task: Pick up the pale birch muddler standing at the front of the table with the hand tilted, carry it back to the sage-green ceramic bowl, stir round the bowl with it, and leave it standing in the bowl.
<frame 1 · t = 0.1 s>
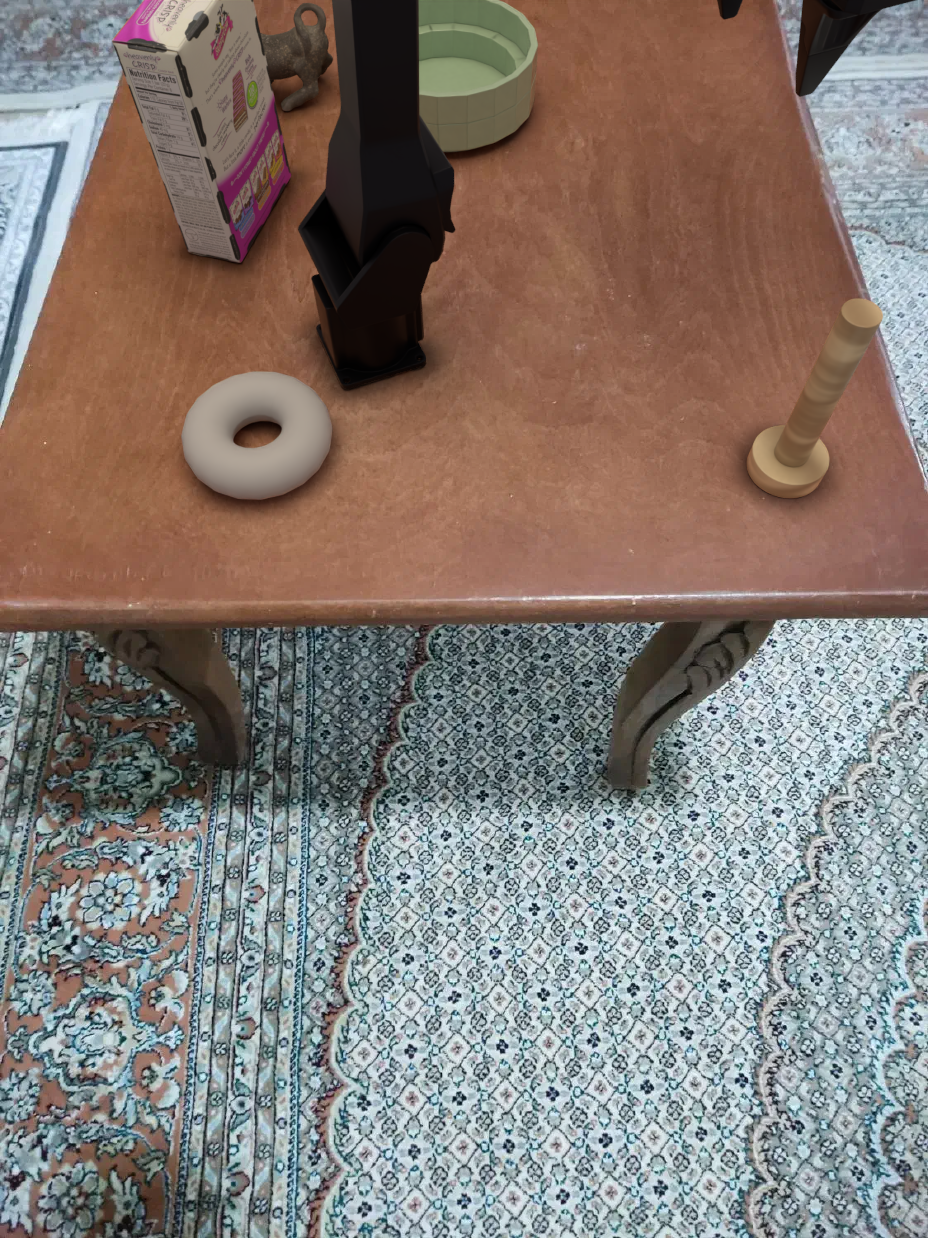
hand: (764, 54, 57), 15 cm above the table, tool pointing down, fingers open, 9 cm apart
muddler: (783, 468, 59), on the table
candy bar box: (240, 217, 72), on the table
dog figurine: (270, 94, 80), on the table
bowl: (447, 105, 78), on the table
donut: (263, 451, 61), on the table
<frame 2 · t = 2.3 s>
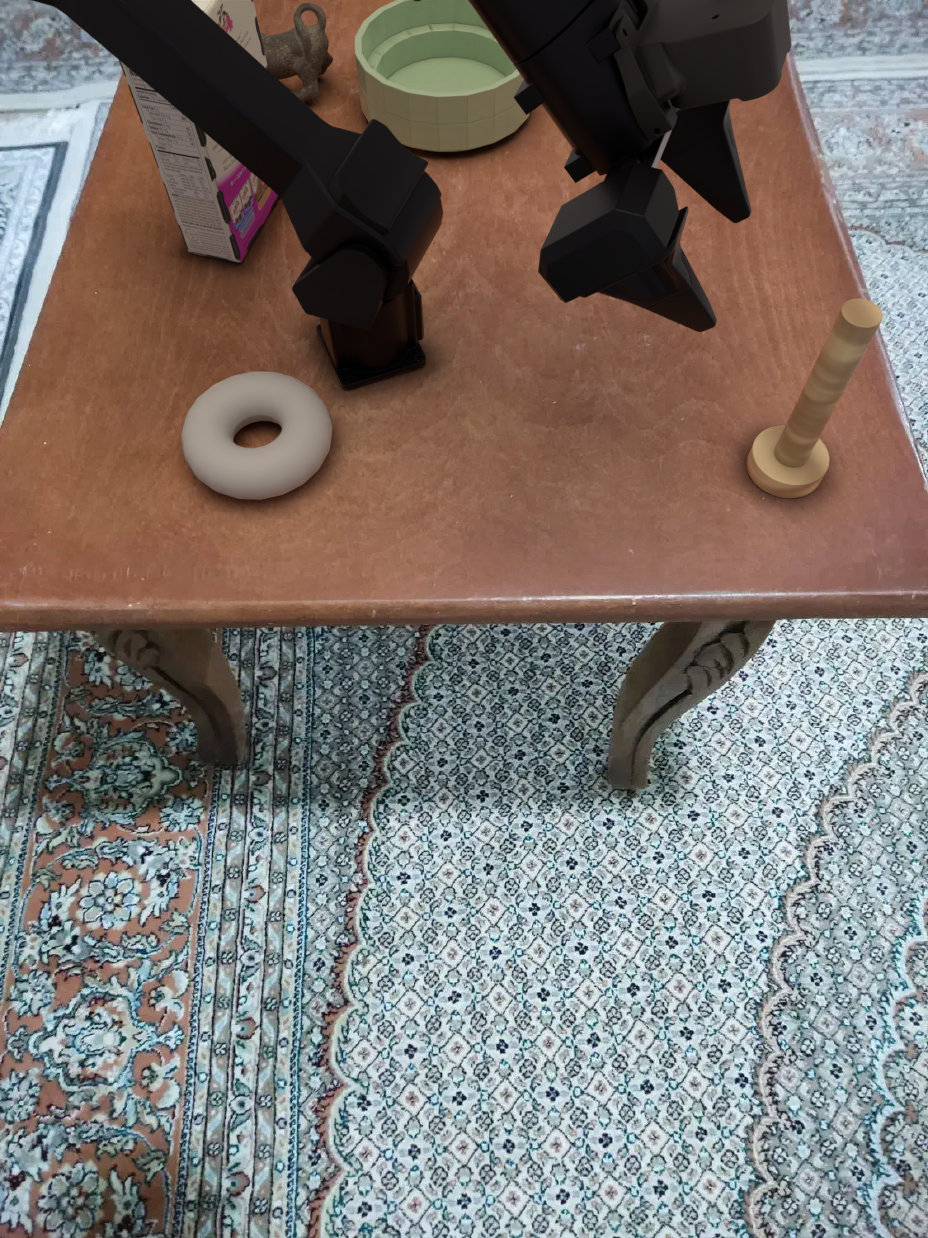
hand: (726, 270, 49), 13 cm above the table, tool tilted 45°, fingers open, 9 cm apart
nothing on the table moved.
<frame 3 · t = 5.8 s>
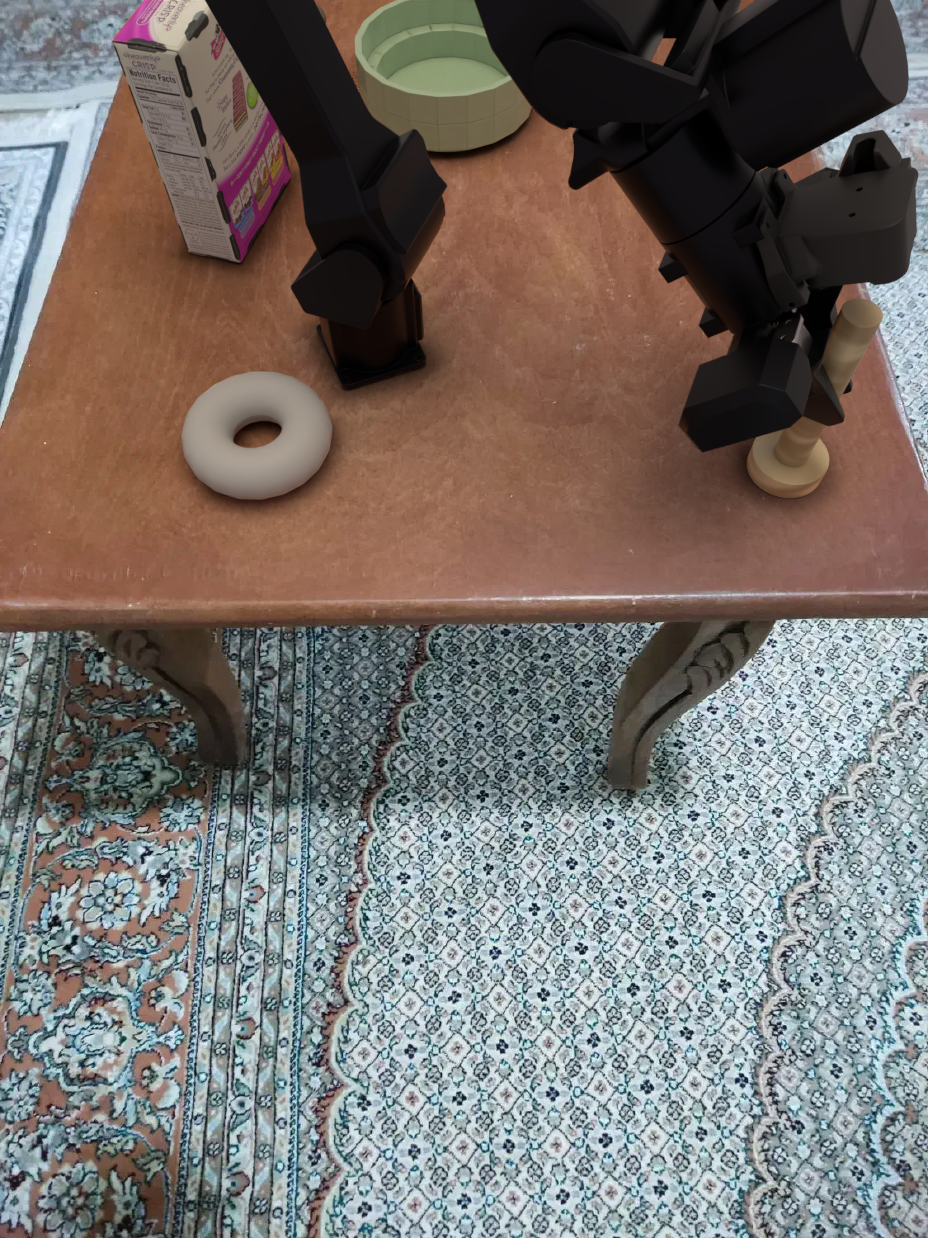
hand: (840, 407, 53), 7 cm above the table, tool tilted 45°, fingers closed on muddler, 2 cm apart
muddler: (783, 468, 59), on the table, touching gripper
everything else where it was.
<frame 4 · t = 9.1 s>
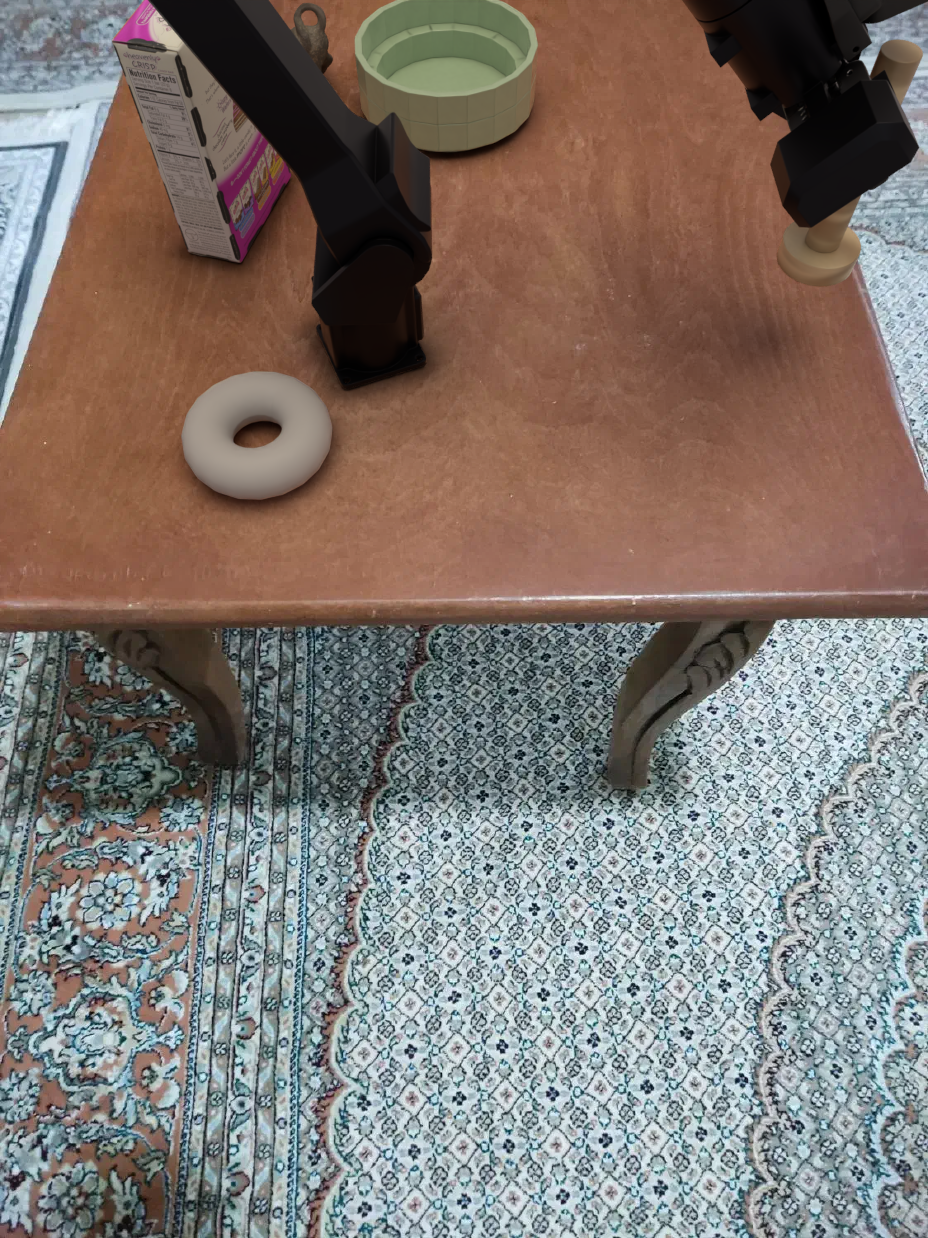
hand: (874, 169, 53), 13 cm above the table, tool tilted 45°, fingers closed on muddler, 2 cm apart
muddler: (814, 260, 59), point 7 cm above the table, touching gripper
everything else where it was.
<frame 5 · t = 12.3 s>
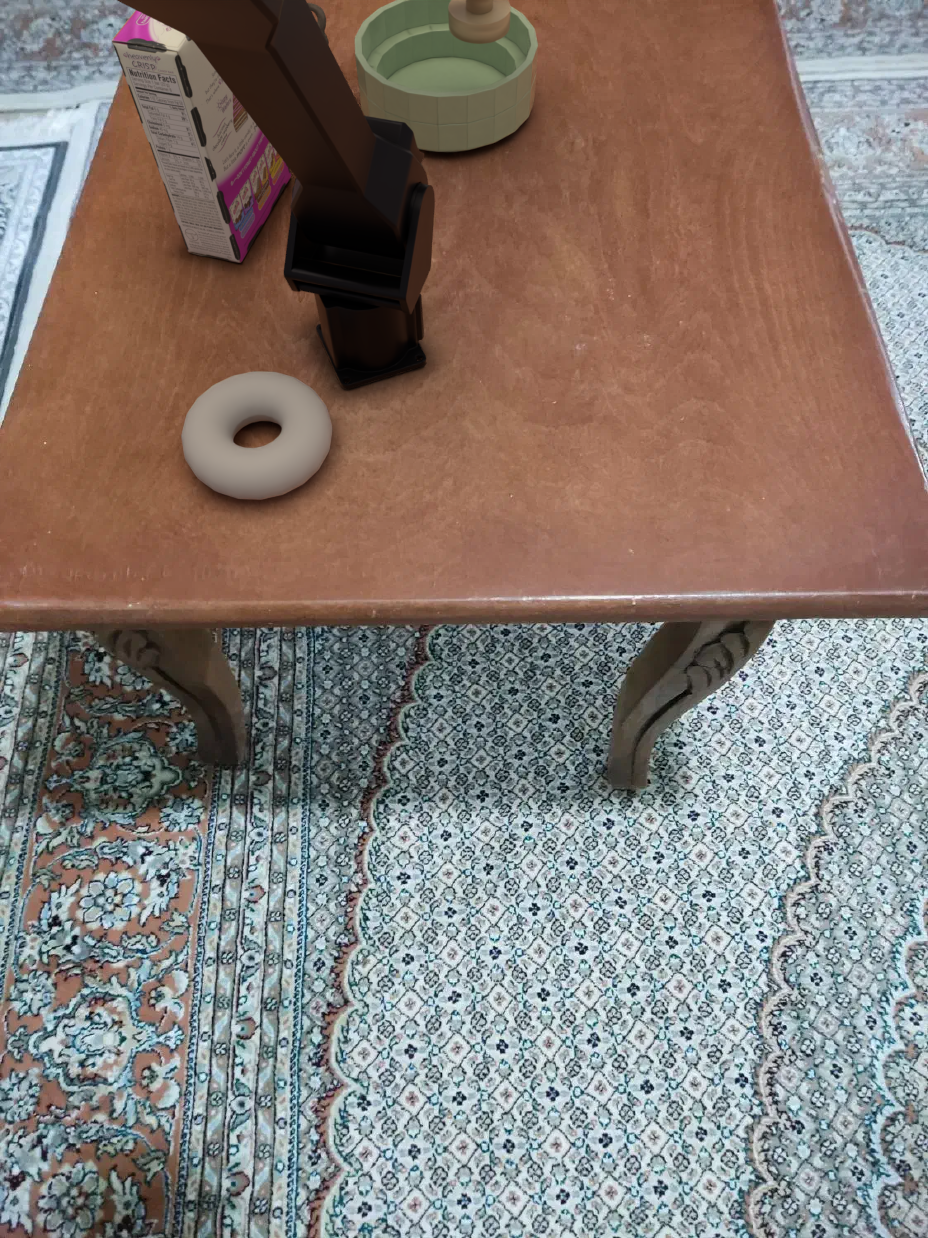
muddler: (479, 26, 72), point 7 cm above the table, touching gripper
everything else where it was.
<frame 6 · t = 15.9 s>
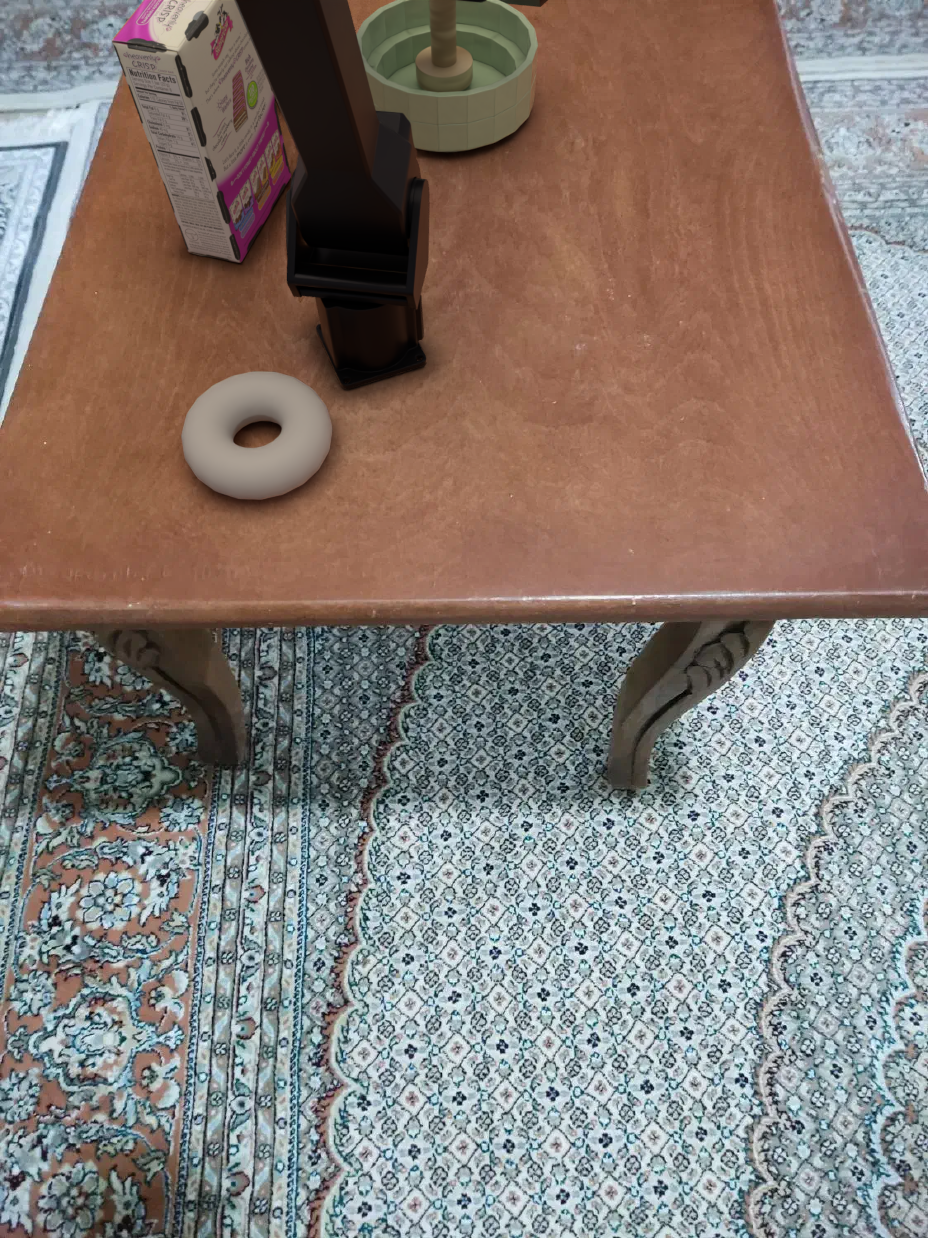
muddler: (444, 77, 78), point 1 cm above the table, touching gripper
everything else where it was.
when the fingers open (7 cm above the table, at t = 18.7 s): muddler stays where it is, resting on bowl.
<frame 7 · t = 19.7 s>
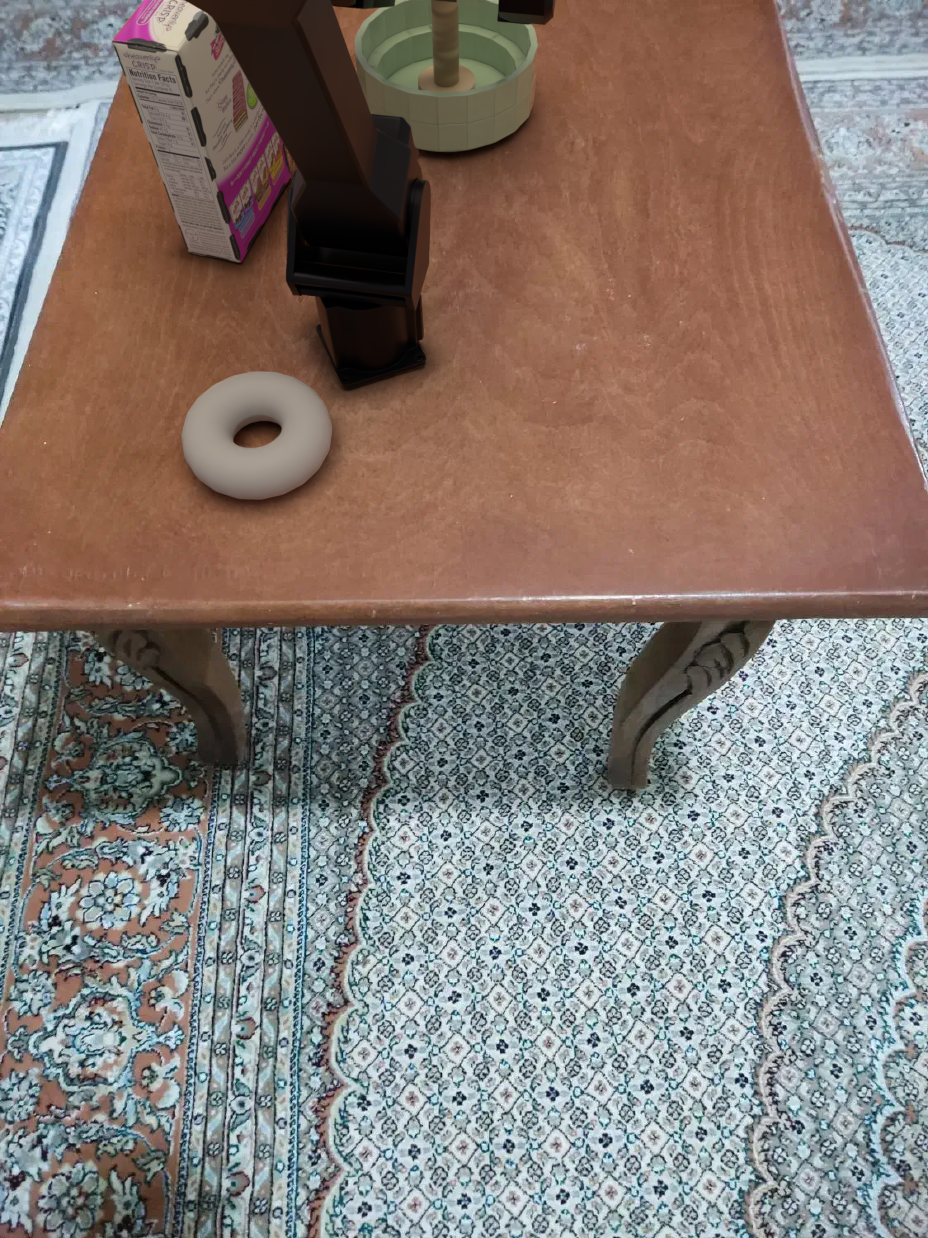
hand: (448, 3, 72), 8 cm above the table, tool tilted 45°, fingers open, 9 cm apart
muddler: (447, 96, 78), point 1 cm above the table, touching bowl
everything else where it was.
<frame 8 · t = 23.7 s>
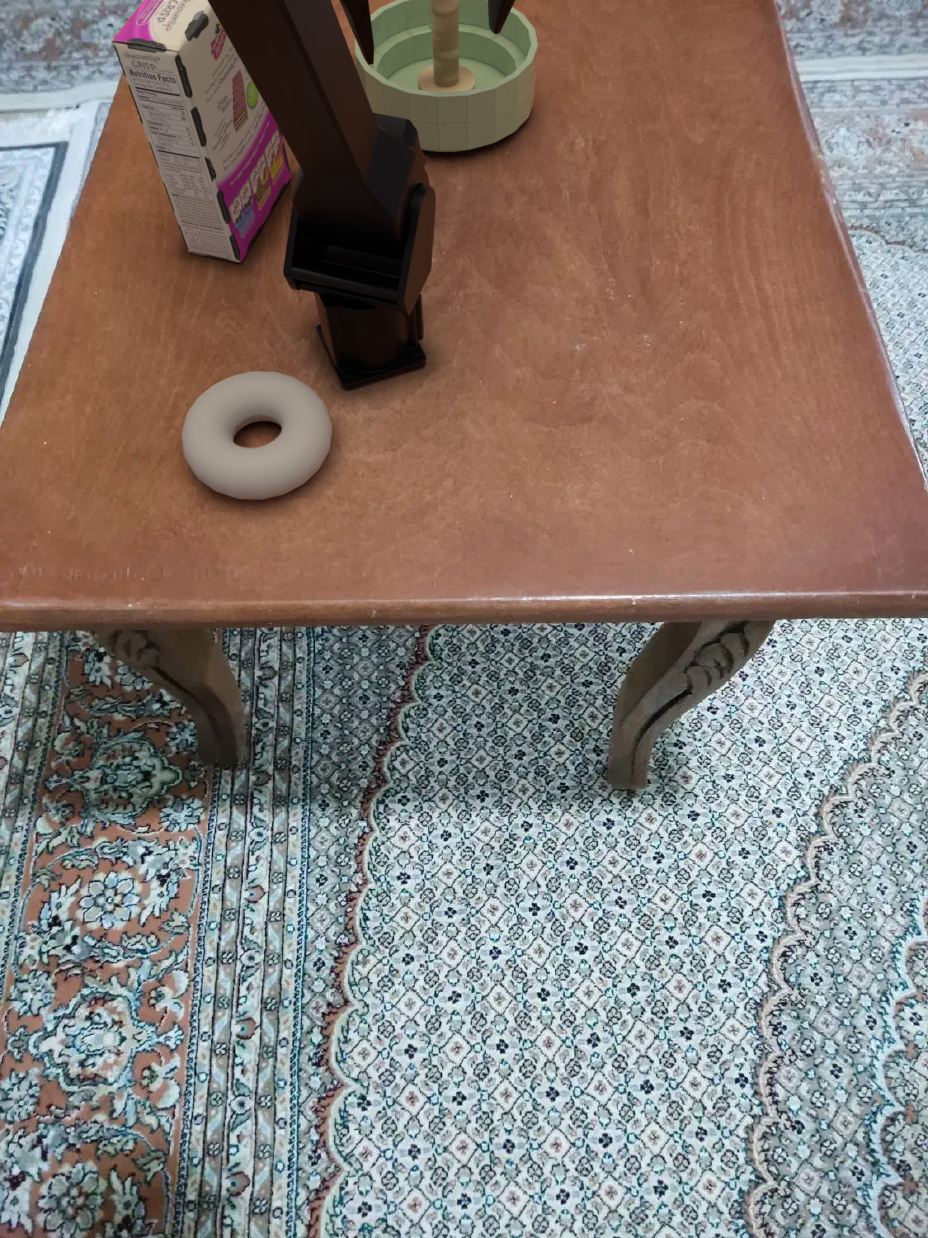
hand: (432, 45, 60), 13 cm above the table, tool pointing down, fingers open, 9 cm apart
nothing on the table moved.
at the end: muddler inside the target area in the bowl (0.0 cm from its centre), point 0.8 cm above the bowl's base; muddler tilted 0°; muddler moved 46.4 cm from its start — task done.
